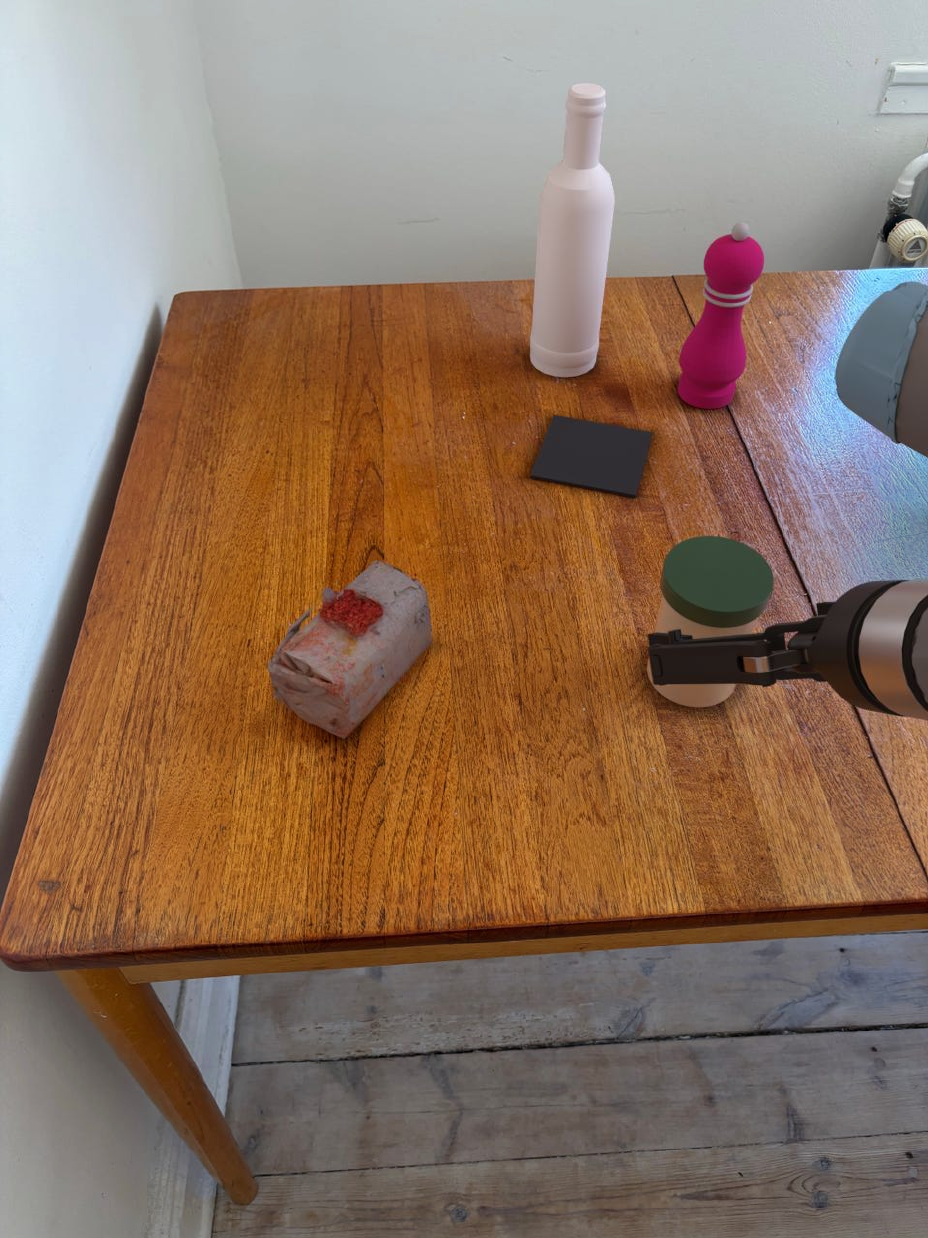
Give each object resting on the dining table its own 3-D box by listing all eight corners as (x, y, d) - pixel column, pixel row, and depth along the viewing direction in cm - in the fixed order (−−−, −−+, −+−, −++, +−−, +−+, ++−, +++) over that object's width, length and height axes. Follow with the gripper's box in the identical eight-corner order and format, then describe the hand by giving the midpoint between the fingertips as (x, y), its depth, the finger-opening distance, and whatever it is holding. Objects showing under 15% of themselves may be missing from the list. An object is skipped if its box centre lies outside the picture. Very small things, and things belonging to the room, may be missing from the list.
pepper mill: (679, 412, 112) (713, 240, 97) (668, 375, 117) (699, 206, 102) (743, 411, 112) (787, 239, 98) (729, 375, 117) (769, 206, 103)
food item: (346, 757, 80) (335, 677, 73) (269, 713, 83) (251, 632, 76) (441, 649, 88) (440, 567, 81) (368, 612, 91) (360, 530, 84)
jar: (740, 650, 88) (771, 554, 80) (731, 716, 83) (762, 621, 75) (654, 631, 89) (675, 535, 81) (640, 696, 84) (660, 600, 76)
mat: (652, 435, 109) (653, 432, 109) (635, 498, 102) (635, 495, 102) (553, 417, 111) (553, 414, 111) (529, 478, 104) (529, 474, 104)
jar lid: (773, 564, 81) (779, 547, 79) (764, 638, 75) (770, 622, 74) (668, 543, 82) (671, 526, 81) (652, 614, 77) (655, 598, 76)
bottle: (515, 358, 119) (528, 86, 97) (561, 334, 123) (584, 67, 101) (563, 386, 115) (589, 111, 93) (610, 361, 119) (645, 90, 97)
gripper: (712, 761, 53) (590, 715, 73) (1122, 675, 57) (896, 655, 78) (690, 619, 52) (573, 614, 73) (1105, 544, 57) (883, 559, 77)
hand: (740, 635), depth 75 cm, fingers open, 13 cm apart
